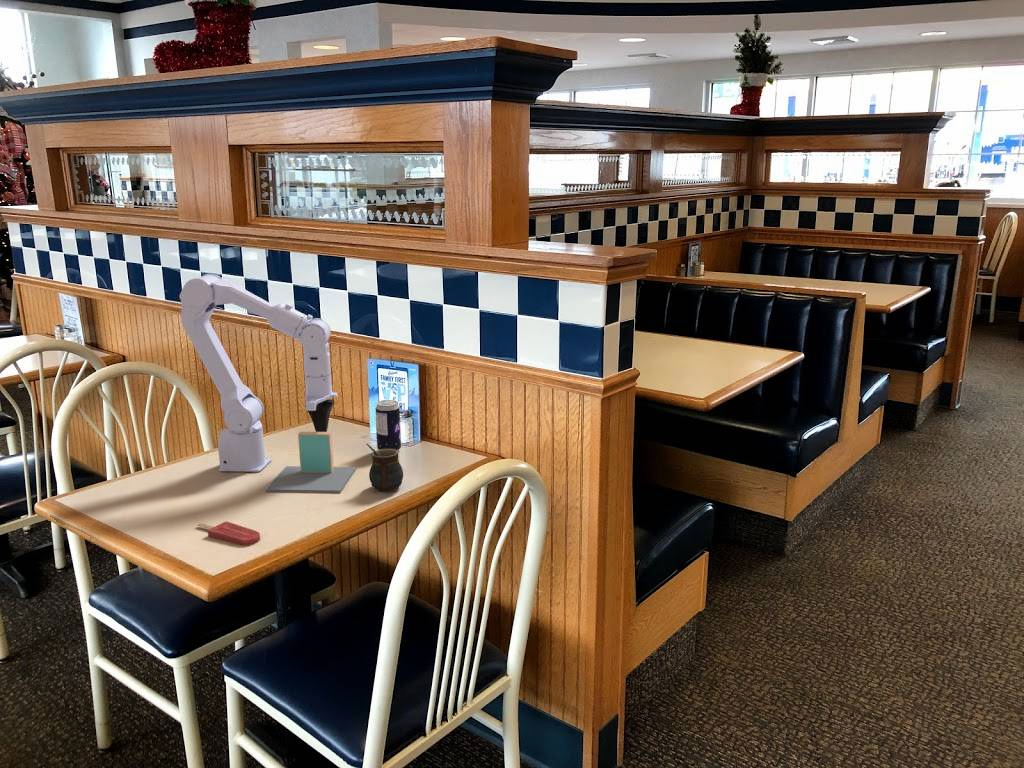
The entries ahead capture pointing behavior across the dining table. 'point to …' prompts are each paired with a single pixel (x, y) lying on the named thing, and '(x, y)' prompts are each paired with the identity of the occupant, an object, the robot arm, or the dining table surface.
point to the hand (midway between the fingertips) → (321, 432)
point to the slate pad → (311, 480)
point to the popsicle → (232, 533)
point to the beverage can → (388, 425)
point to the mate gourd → (385, 470)
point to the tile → (316, 452)
